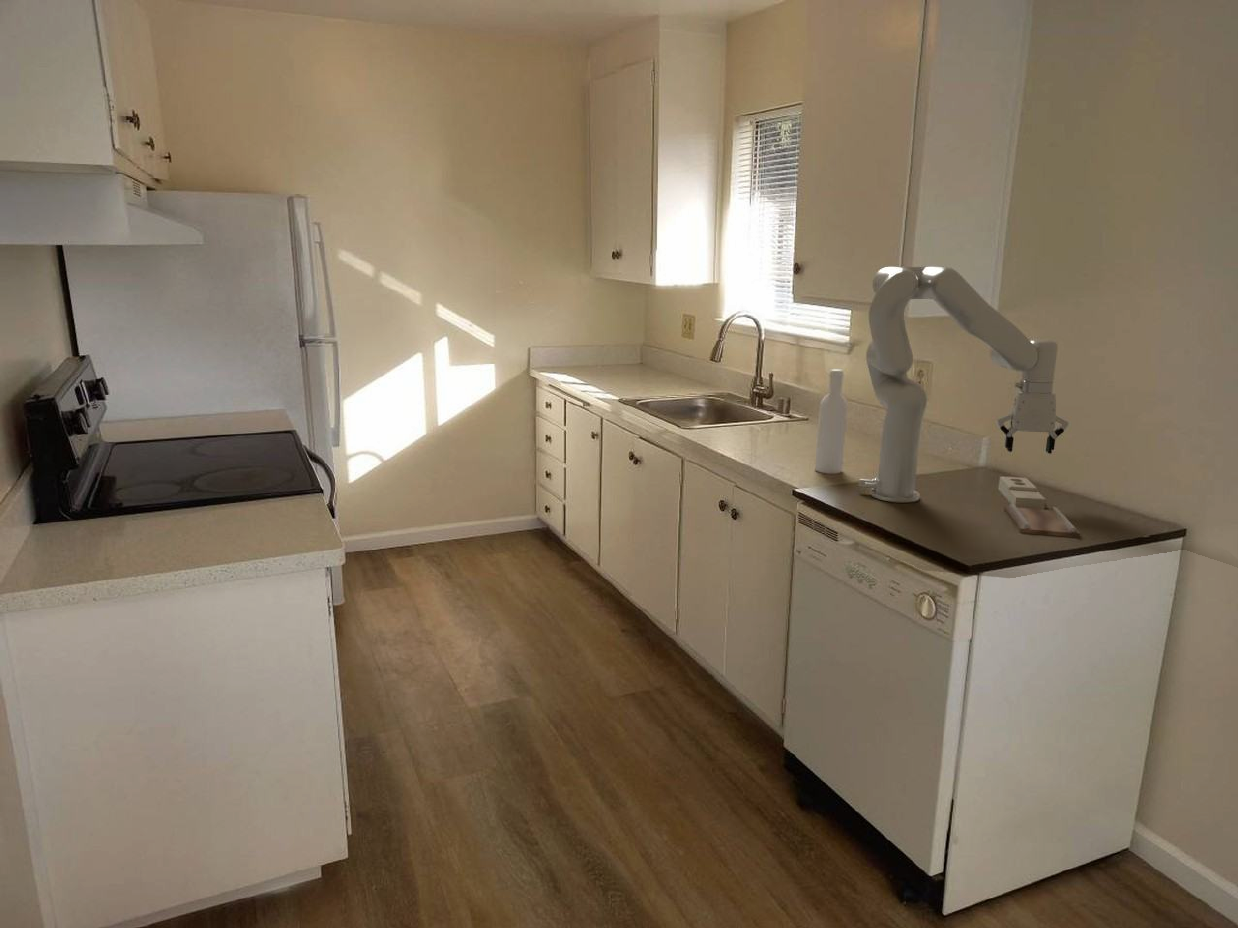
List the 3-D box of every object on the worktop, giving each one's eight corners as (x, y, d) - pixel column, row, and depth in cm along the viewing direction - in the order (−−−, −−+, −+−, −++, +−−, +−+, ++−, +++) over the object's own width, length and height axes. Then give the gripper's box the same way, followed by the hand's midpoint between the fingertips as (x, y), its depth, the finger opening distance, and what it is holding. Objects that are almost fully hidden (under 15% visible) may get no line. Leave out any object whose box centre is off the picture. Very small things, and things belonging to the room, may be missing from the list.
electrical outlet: (1016, 493, 222) (999, 475, 239) (1014, 508, 223) (997, 490, 240) (1046, 495, 221) (1027, 477, 238) (1044, 510, 222) (1025, 491, 239)
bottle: (816, 466, 261) (824, 367, 253) (843, 468, 258) (852, 369, 250) (813, 472, 253) (821, 370, 246) (840, 475, 251) (849, 372, 243)
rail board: (1019, 532, 203) (1020, 524, 203) (1004, 510, 220) (1005, 502, 220) (1079, 537, 200) (1080, 529, 200) (1059, 514, 217) (1060, 507, 217)
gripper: (1003, 389, 222) (996, 453, 226) (1076, 391, 218) (1068, 456, 222) (997, 384, 229) (991, 446, 233) (1068, 386, 225) (1060, 449, 230)
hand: (1028, 451), depth 228 cm, fingers open, 9 cm apart
